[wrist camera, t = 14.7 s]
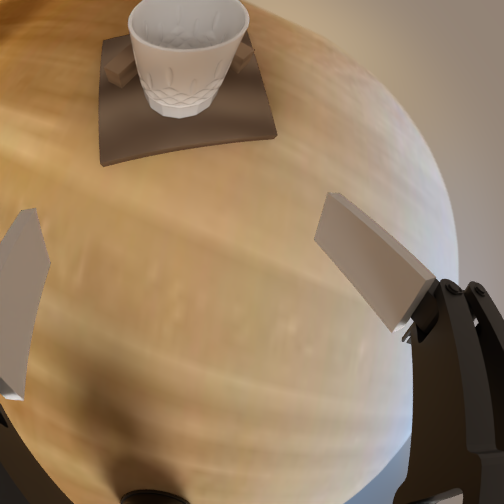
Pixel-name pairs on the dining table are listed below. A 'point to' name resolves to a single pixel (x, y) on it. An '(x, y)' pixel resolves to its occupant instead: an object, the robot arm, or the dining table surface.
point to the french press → (151, 498)
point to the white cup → (185, 50)
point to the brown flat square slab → (174, 129)
